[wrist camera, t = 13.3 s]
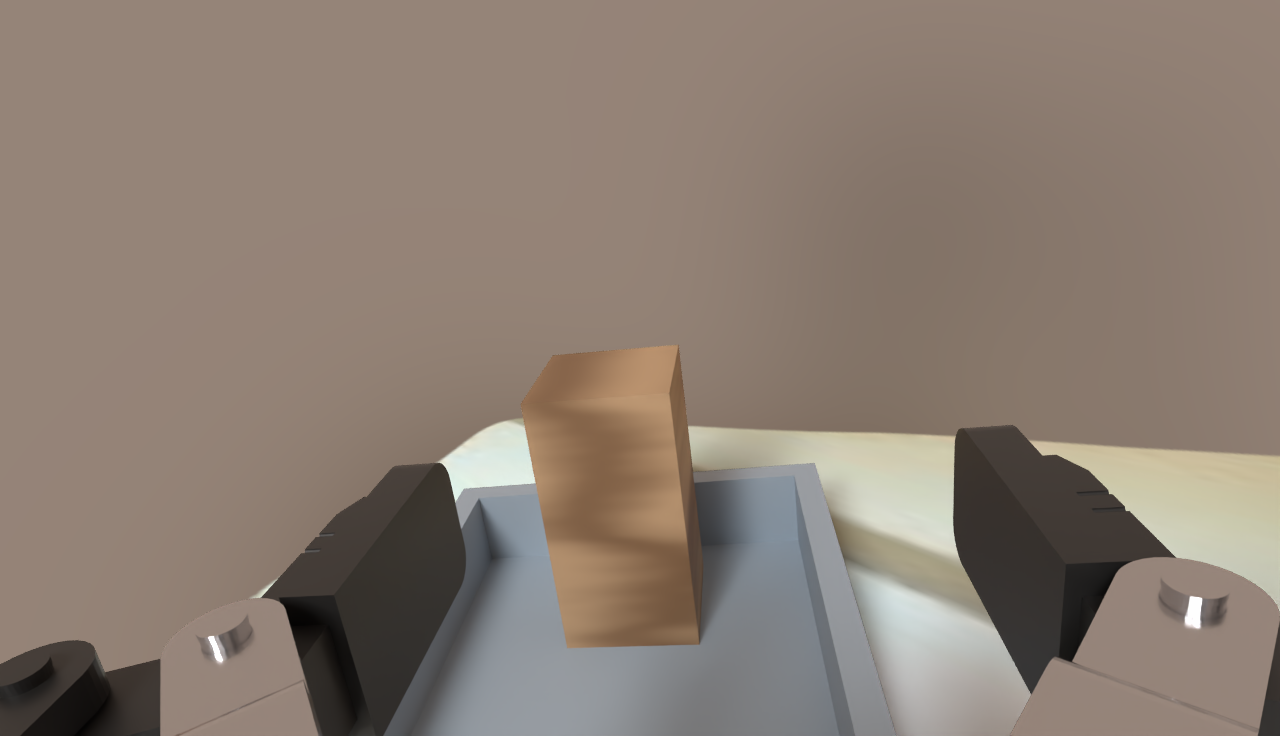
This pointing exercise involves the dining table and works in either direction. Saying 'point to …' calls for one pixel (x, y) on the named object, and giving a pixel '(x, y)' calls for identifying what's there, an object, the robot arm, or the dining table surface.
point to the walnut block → (618, 496)
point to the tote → (658, 675)
